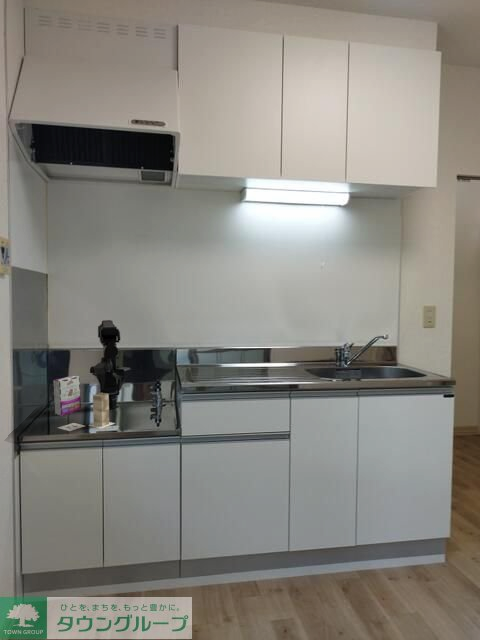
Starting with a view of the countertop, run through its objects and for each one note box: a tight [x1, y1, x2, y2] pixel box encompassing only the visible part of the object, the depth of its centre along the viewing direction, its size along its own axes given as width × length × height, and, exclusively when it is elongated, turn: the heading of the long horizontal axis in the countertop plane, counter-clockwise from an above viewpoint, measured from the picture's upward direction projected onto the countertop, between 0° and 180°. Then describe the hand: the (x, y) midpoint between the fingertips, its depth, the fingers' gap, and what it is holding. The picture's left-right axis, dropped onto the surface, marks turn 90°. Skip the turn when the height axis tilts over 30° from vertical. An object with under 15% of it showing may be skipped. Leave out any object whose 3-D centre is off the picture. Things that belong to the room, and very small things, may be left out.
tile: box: [57, 422, 85, 432], centre depth 190 cm, size 8×8×1 cm
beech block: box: [92, 392, 110, 426], centre depth 193 cm, size 4×4×13 cm
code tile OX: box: [88, 421, 116, 430], centre depth 194 cm, size 8×8×1 cm
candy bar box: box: [53, 375, 82, 417], centre depth 211 cm, size 11×5×16 cm, turn 148°
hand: (110, 389), depth 202 cm, fingers open, 9 cm apart
